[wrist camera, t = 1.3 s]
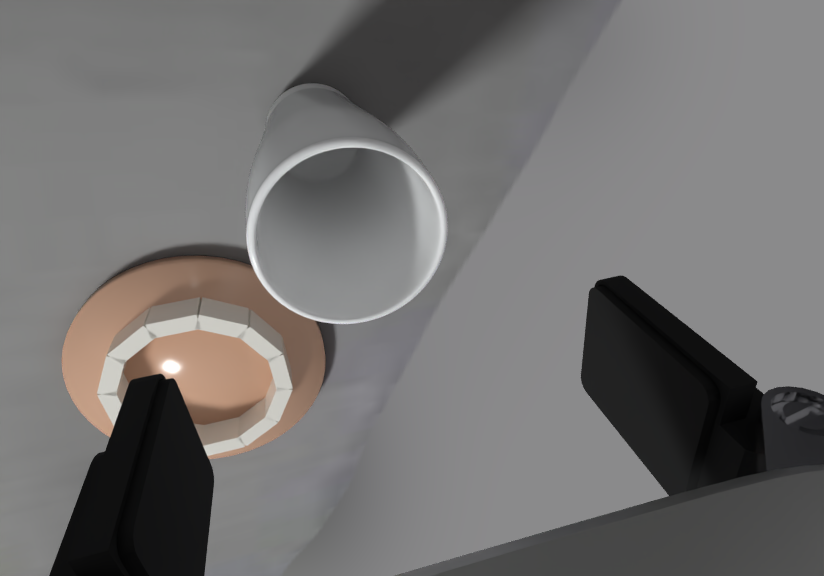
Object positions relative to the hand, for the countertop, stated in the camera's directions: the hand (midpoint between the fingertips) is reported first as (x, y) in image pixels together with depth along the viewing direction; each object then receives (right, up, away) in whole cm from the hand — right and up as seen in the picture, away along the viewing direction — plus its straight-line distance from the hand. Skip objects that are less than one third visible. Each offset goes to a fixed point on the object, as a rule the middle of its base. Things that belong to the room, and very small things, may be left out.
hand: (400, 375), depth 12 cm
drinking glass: (-5, +11, +18) cm, 22 cm away
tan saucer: (-14, -3, +24) cm, 27 cm away
